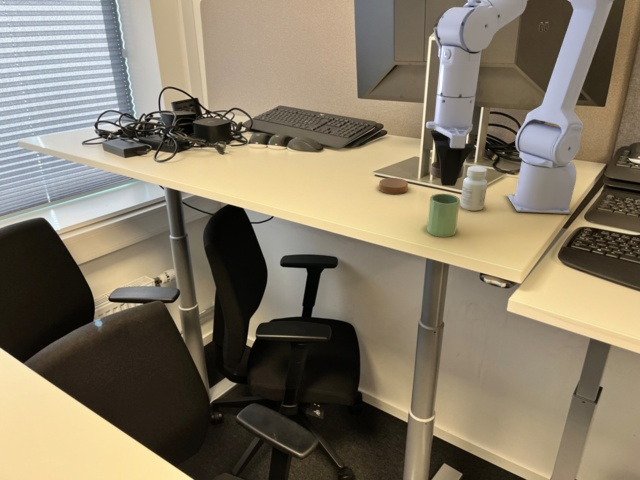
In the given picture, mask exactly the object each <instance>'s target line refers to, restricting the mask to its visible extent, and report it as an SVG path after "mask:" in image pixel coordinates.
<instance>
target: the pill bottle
mask: <svg viewBox="0 0 640 480" xmlns="http://www.w3.org/2000/svg"><path fill="white" fill-rule="evenodd" d="M487 174H488V169H487V168H486V167H484V166H480V165H471V166H468V167H467V172H466V176H467V177H465V178H464V179H463V180H462V181H463V182H462V188H461V196H460V205H459V206H460V208H462V209H464V210H467V211H474V212H475V211H481V210H482V209H484V206H485V202H486V194H487V188H488V181H487V179H486V178H487Z"/></svg>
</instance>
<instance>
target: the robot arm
mask: <svg viewBox="0 0 640 480" xmlns="http://www.w3.org/2000/svg"><path fill="white" fill-rule="evenodd" d="M528 1H529V0H467V2H466V3H465V4H464V5H463V6H460V7H459V6H453V7H451V8H449V9H447V10H446V11H445V12H444V13H443V14H442V16H441V17H440V18H439V21H438V23H437V26H436V27H435V28H434V30H433V33H434V34H433V35H434V36H433V37H434V40H435V43H436V45H437V47H438V55H437V57H438V58H439V71H438V81H437V88H436V89H437V90H436V101H435V108H434V109H435V110H434V119H433V121H426V123H425V127H426V129H429V130H430V135H431V136H432V139H433V144H434V147H435V160H436V161H435V162H437V161H440V178H439V179H440V183H441V186H442V187H443V186H445V187H447V186H448V187H455V186H456V184H457V182H458V179H459V178H458V177H459V174H460V171H461V168H462V166H464V164H465V161H466V160H467V158H468V157H469V155H470V154H471V153H472V151H473V150H474V144H473V143H466V139H467V136H469V134H470V133H471V131H473V126H474V125H473V117H474V116H473V115H474V108H475V102H476V95H477V87H478V79H479V73H480V65H481V64H480V63H481V58H482V50H486V49H487V48H488V47H489V45H490V44H491V42H492V40H493V38H494V36H495V34H496V33H498V31H499V30H501V29H502V28H503V27H505V26H507V25H508V24H509V23H511V22H512V21H513V20H515V19H516V18H518V17H519V16H521V15H522V14H523V13H524V12H525V11H526V8H527V5H528ZM566 1H568V2H570V4H571V7H572V9H573V11H572V14H571V17H570V20H569V23H568V26H567V29H566V32H565V35H564V38H563V41H562V44H561V47H560V51H559V53H558V56H557V59H556V62H555V64H554V68H553V69H552V74H551V76H550V79H549V82H548V85H547V89H546V92H545V93H544V97H543V100H542V102H541V105H540V106H538V107H536V108H534V109H532V110H531V111H529V112H527V115H526V117H525V120H524V122H523V124H522V125H521V127H520V128H519V129H518V131H517V134H516V136H515V142H514V143H515V149H516V150H517V152H519V154H518V156H519V158H520V159H521V164H520V169H519V173H518V179H517V182H516V183H517V184H516V188H515V194H513V193H511V194H510V193H509V194H508V195H507V197H508V199H509V202H511V204H512V205H513V208H514V210H515V211H516V212H519V213H539V214H540V213H541V214H543V213H544V214H565V215H566V214H570V212H571V211H570V210H569V209H570V207H571V202H572V198H573V195H574V190H575V187H576V183H577V167H576V165H575V163H574V162H572V161H573V160H574V159H575V157H576V156H577V155H578V154H579V151H580V148H581V138H582V132H583V129H584V126H585V125H584V123H583V122H582V120H581V119H580V118H579V116H578V114H576V112H575V108H576V105H577V102H578V100H579V97H580V94H581V92H582V88H583V86H584V83H585V80H586V77H587V75H588V72H589V69H590V66H591V64H592V61H593V58H594V55H595V53H596V50H597V47H598V45H599V41H600V39H601V36H602V34H603V31H604V28H605V25H606V22H607V19H608V17H609V14H610V11H611V9H612V6H613V3H614V1H615V0H566ZM548 123H549V124H548ZM551 124H553V125H551ZM555 125H557V126H555ZM558 126H559V127H558Z"/></svg>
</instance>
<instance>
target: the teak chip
mask: <svg viewBox="0 0 640 480" xmlns="http://www.w3.org/2000/svg"><path fill="white" fill-rule="evenodd" d="M408 186H409V183H408V181H406V180H405V179H403V178H398V177H386V178H382V179H380V180H379V183H378V190H379V191H380V192H381V193H383V194H388V195H401V194H405V193H407V192H408V188H409V187H408Z"/></svg>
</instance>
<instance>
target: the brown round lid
mask: <svg viewBox="0 0 640 480" xmlns="http://www.w3.org/2000/svg"><path fill="white" fill-rule="evenodd" d="M464 170H465V166H464V165H463V166H462V168H461V171H460V174H459V177H458V179H461V178H463V176H464ZM430 176H432V177H434V178H437V179H441V178H440V161H437V162H436V161H434V162H432V163H431V166H430Z"/></svg>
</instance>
